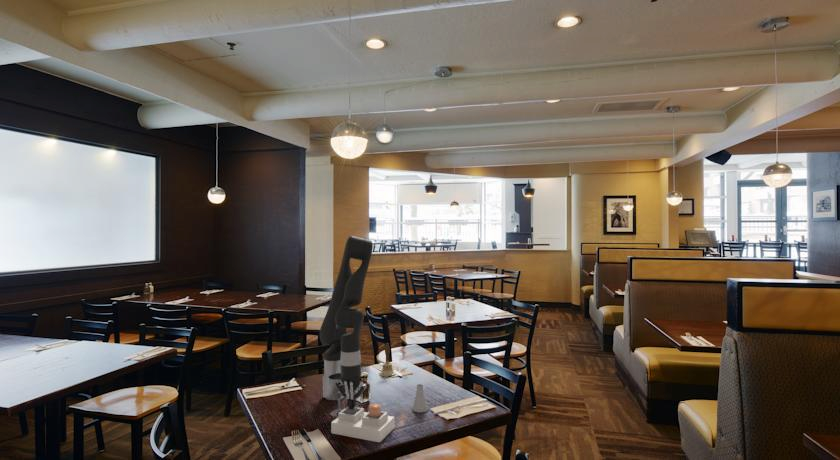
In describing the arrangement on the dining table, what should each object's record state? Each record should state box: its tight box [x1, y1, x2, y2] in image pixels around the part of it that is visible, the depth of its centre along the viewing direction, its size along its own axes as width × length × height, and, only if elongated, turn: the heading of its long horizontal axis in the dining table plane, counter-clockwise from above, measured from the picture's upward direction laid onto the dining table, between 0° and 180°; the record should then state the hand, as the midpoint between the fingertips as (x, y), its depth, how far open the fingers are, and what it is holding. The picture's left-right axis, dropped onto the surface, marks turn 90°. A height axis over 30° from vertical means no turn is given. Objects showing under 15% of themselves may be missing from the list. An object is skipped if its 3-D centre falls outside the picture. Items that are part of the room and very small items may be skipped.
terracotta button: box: [368, 403, 382, 417], centre depth 157 cm, size 4×4×3 cm
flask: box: [411, 383, 429, 414], centre depth 176 cm, size 7×7×10 cm
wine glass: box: [329, 373, 345, 418], centre depth 175 cm, size 8×8×15 cm
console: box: [330, 406, 396, 443], centre depth 159 cm, size 20×12×6 cm, turn 68°
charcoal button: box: [344, 405, 358, 415], centre depth 161 cm, size 4×4×3 cm
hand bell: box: [379, 342, 395, 378], centre depth 220 cm, size 8×8×16 cm
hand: (351, 408), depth 161 cm, fingers closed
